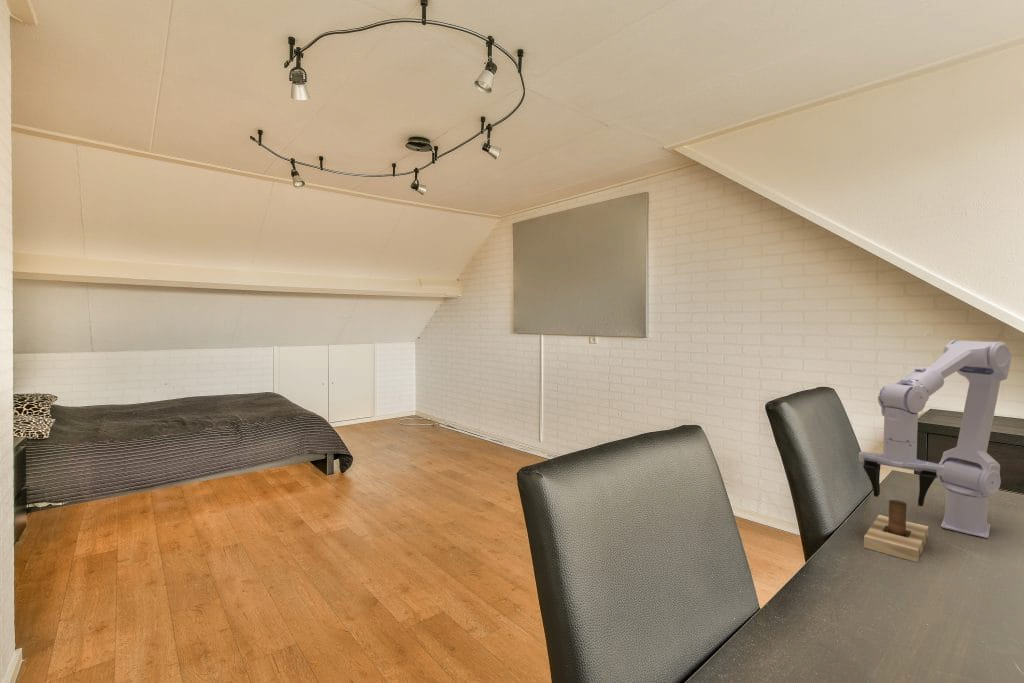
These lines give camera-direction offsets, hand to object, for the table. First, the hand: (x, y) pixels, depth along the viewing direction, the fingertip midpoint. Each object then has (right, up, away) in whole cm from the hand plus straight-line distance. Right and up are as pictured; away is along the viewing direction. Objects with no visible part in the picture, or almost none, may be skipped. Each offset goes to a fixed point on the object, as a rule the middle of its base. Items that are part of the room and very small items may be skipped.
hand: (898, 500), depth 107 cm
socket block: (0, -10, +1) cm, 10 cm away
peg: (0, -10, +1) cm, 10 cm away
